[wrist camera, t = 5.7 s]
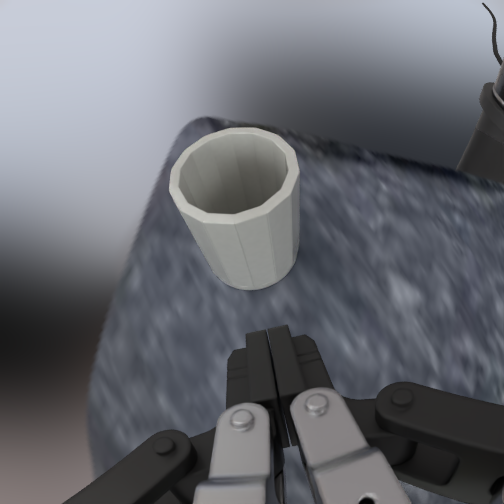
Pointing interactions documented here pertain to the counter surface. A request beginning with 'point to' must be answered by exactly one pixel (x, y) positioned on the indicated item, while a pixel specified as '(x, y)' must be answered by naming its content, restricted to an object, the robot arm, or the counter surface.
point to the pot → (241, 204)
